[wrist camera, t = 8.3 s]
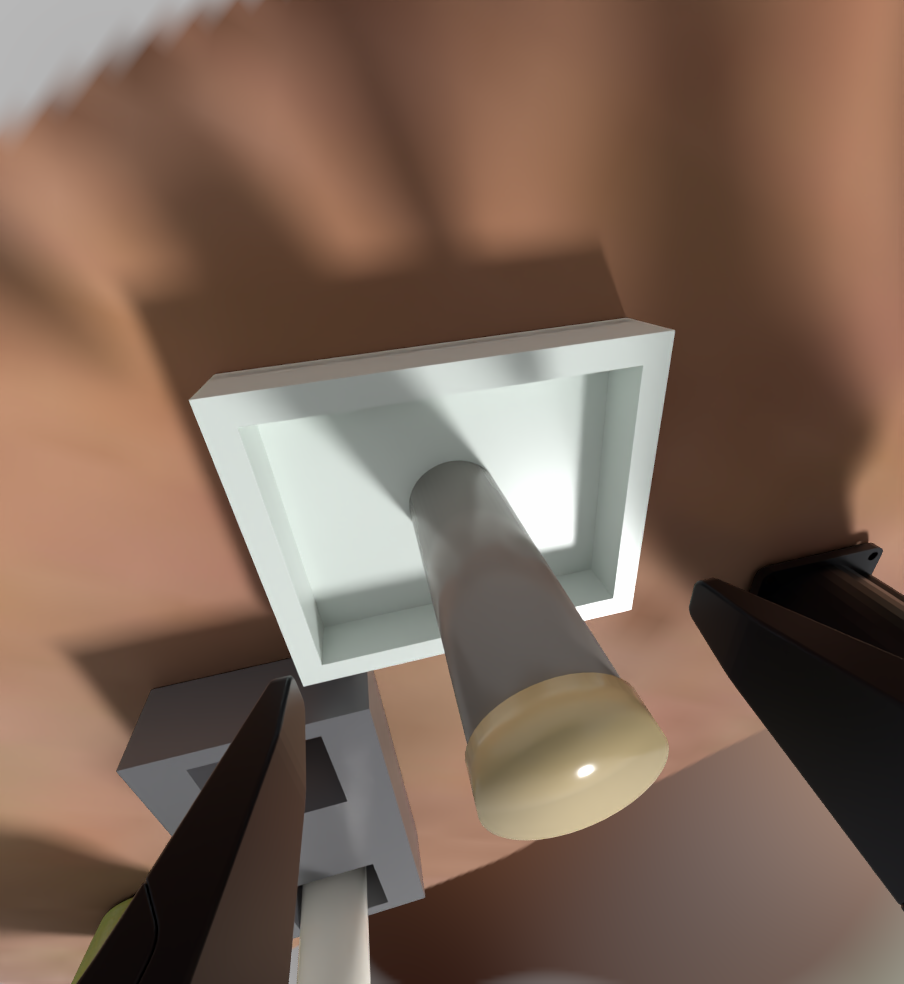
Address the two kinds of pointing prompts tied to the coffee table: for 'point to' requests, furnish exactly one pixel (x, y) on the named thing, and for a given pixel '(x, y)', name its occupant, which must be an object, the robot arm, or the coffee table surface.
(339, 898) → the cylinder
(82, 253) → the coffee table surface
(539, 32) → the coffee table surface
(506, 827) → the cream capped cylinder
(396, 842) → the fuse holder
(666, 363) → the parts tray
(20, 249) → the coffee table surface
